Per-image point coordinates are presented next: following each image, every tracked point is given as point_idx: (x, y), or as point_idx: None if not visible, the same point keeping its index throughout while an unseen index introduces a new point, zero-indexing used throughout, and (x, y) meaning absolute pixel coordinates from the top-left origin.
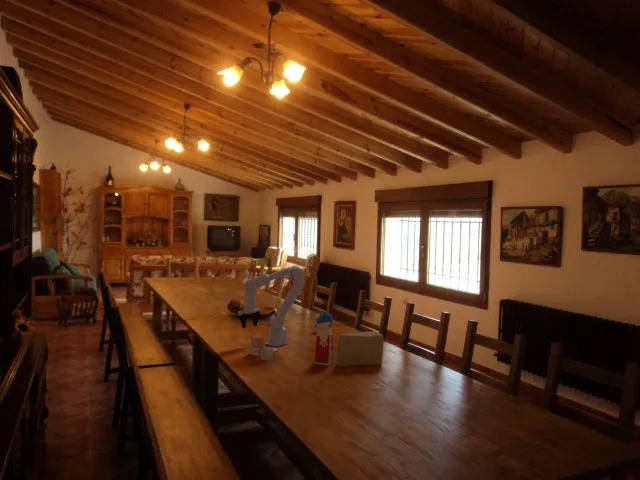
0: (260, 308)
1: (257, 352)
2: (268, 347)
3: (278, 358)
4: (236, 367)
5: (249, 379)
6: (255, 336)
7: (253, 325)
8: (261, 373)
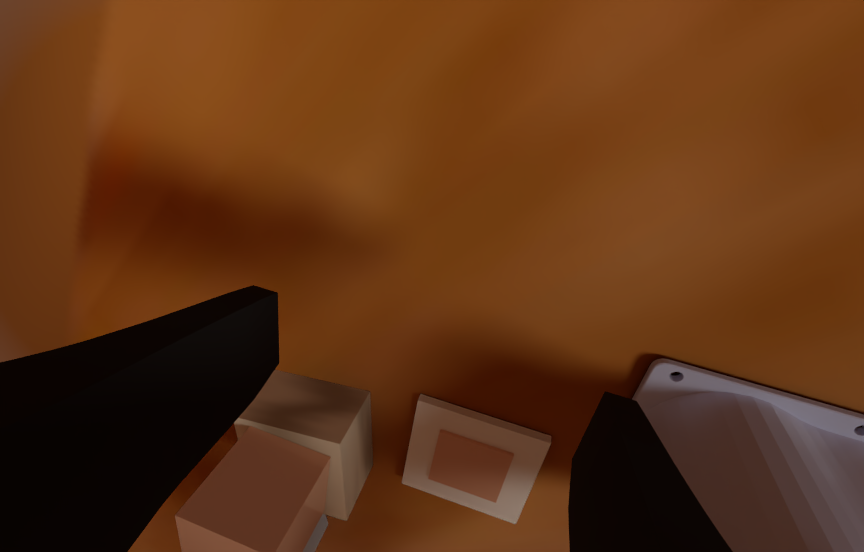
0: None
1: None
2: (513, 443)
3: (352, 548)
4: None
5: None
6: (211, 546)
7: (599, 405)
8: None
